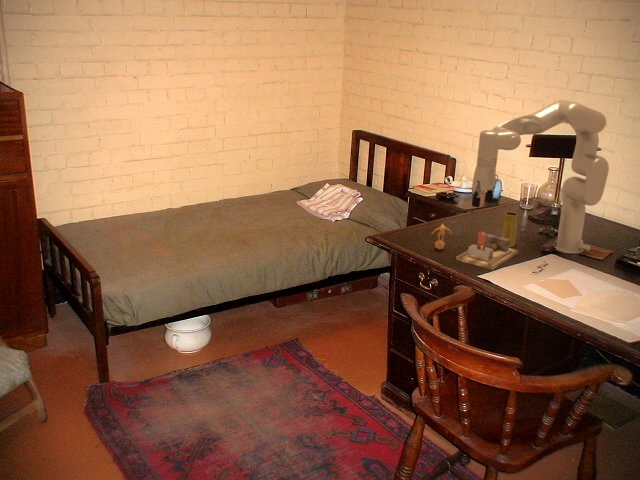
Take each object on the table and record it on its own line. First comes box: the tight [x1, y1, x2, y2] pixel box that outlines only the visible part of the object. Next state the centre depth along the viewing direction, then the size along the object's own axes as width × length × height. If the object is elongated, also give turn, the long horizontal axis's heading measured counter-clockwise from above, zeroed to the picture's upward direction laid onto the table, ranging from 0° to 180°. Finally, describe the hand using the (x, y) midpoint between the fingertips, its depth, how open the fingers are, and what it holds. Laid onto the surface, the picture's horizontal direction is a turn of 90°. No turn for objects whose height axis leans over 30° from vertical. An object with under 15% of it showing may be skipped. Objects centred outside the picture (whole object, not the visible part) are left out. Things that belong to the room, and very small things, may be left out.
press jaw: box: [467, 231, 494, 261], centre depth 266 cm, size 9×4×10 cm, turn 50°
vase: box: [501, 211, 519, 248], centre depth 285 cm, size 6×6×14 cm
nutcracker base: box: [455, 233, 519, 271], centre depth 272 cm, size 16×24×6 cm, turn 141°
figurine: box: [431, 223, 452, 251], centre depth 278 cm, size 8×6×12 cm
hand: (482, 204), depth 262 cm, fingers open, 9 cm apart
